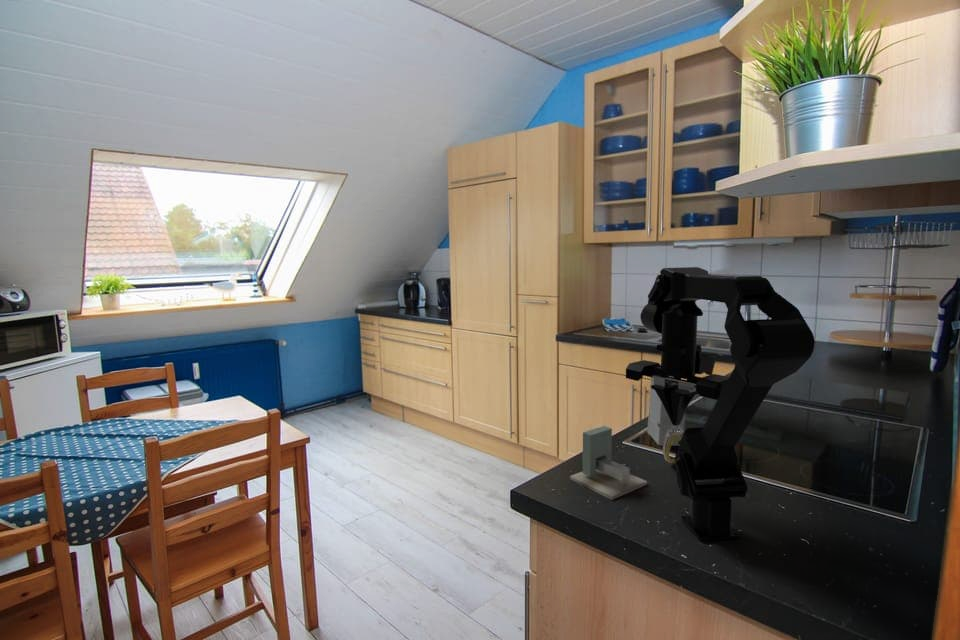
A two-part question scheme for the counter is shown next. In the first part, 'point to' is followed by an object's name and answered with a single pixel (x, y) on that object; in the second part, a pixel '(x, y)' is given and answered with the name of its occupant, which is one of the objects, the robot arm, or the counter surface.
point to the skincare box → (660, 419)
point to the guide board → (608, 484)
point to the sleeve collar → (596, 448)
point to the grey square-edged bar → (613, 470)
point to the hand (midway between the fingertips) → (676, 424)
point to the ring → (671, 442)
